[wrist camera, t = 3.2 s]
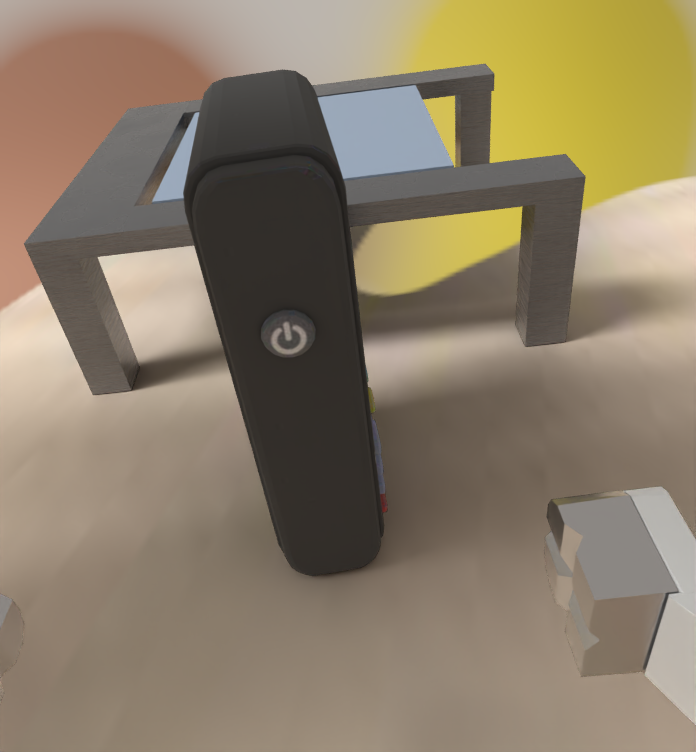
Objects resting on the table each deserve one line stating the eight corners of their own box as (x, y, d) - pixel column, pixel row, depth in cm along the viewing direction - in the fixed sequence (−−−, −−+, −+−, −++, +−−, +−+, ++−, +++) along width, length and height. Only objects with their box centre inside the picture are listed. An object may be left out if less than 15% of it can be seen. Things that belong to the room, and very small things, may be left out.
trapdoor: (158, 221, 31) (151, 201, 30) (199, 128, 42) (195, 112, 41) (453, 185, 30) (453, 165, 30) (416, 101, 41) (415, 84, 41)
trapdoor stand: (92, 394, 33) (23, 243, 28) (163, 225, 49) (128, 108, 44) (565, 342, 32) (585, 176, 27) (482, 187, 48) (485, 63, 43)
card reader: (399, 575, 23) (356, 152, 14) (285, 594, 23) (166, 181, 14) (362, 407, 30) (318, 57, 21) (276, 422, 30) (194, 75, 21)
